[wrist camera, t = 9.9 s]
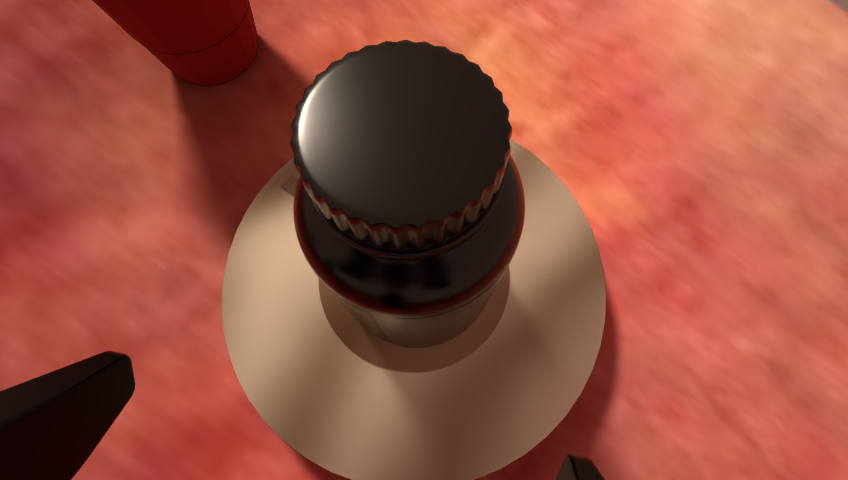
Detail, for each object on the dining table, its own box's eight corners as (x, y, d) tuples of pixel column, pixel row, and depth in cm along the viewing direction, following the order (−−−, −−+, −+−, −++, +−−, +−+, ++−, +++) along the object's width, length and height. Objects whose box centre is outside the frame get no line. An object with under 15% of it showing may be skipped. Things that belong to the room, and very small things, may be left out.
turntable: (656, 247, 23) (673, 236, 21) (458, 583, 18) (461, 600, 16) (385, 80, 26) (383, 60, 25) (157, 318, 21) (137, 311, 20)
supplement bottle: (460, 193, 22) (499, -25, 11) (511, 322, 20) (628, 221, 8) (327, 232, 21) (218, 42, 10) (364, 371, 19) (278, 331, 8)
